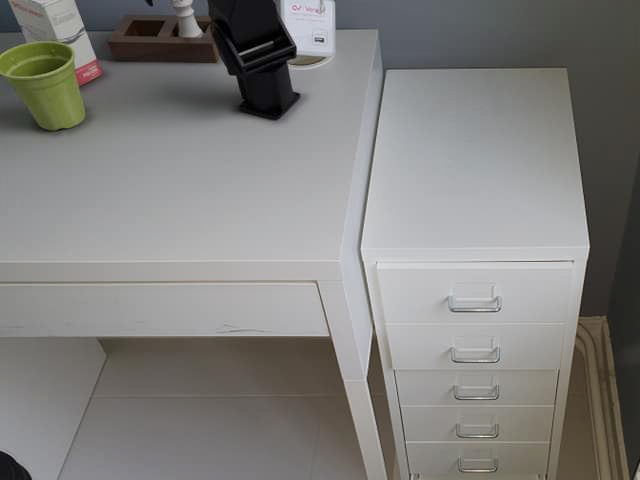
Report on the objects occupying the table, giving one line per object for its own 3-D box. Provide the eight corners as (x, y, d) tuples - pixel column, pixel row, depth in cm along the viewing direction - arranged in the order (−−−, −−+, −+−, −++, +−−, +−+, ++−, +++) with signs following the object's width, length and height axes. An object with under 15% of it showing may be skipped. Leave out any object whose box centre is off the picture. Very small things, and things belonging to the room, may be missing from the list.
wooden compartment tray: (217, 62, 110) (212, 43, 108) (114, 61, 110) (106, 41, 107) (229, 34, 115) (224, 15, 113) (131, 33, 115) (124, 14, 113)
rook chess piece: (185, 58, 111) (169, 4, 104) (175, 45, 113) (159, -8, 107) (213, 50, 112) (199, -3, 106) (203, 38, 115) (189, -15, 108)
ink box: (106, 74, 107) (72, -9, 98) (77, 89, 105) (40, 5, 95) (67, 57, 110) (31, -25, 101) (38, 72, 107) (-2, -12, 98)
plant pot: (60, 94, 104) (32, 34, 97) (114, 109, 102) (89, 49, 95) (10, 128, 98) (-23, 67, 91) (66, 145, 96) (36, 84, 89)
